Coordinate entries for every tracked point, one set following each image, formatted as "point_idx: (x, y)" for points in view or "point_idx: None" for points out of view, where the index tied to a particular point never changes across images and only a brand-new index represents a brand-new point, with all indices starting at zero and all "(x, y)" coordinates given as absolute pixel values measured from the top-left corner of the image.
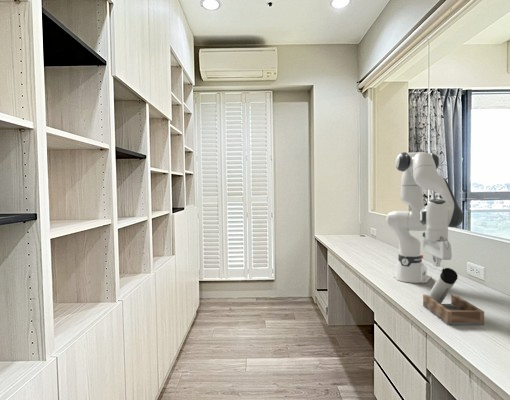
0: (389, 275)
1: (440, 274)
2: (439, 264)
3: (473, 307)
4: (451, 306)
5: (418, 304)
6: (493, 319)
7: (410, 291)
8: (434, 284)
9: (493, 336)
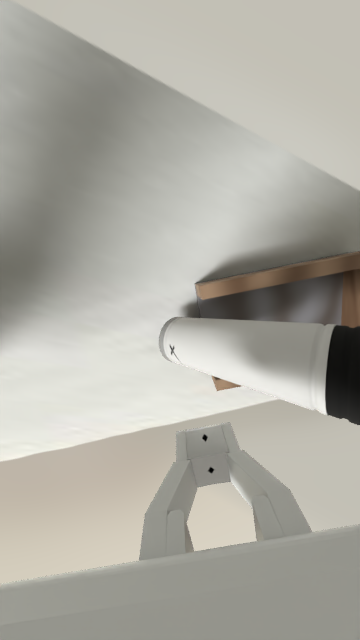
0: None
1: (328, 414)
2: (234, 438)
3: (350, 268)
4: (224, 302)
5: (196, 378)
6: (307, 204)
7: (69, 379)
8: (226, 380)
9: None
